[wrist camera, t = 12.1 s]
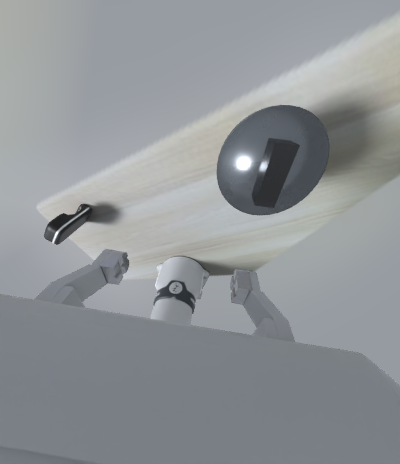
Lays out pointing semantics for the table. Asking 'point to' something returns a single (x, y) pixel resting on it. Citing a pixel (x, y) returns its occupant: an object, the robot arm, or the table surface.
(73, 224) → the battery charger
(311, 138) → the lid
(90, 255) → the table surface
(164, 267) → the robot arm
